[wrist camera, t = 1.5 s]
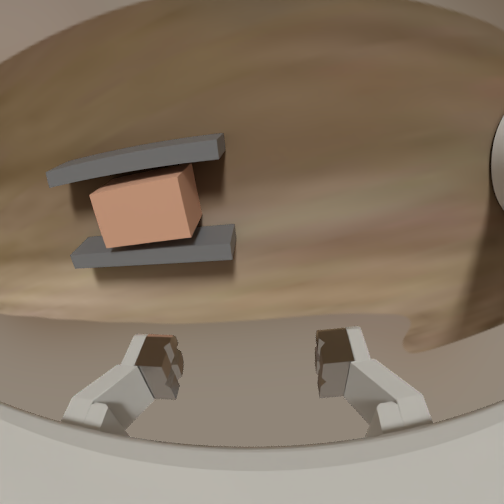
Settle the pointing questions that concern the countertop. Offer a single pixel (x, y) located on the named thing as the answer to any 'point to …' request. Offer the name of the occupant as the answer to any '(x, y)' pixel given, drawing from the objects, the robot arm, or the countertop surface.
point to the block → (148, 206)
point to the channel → (143, 157)
